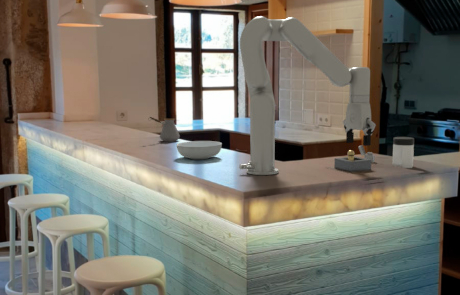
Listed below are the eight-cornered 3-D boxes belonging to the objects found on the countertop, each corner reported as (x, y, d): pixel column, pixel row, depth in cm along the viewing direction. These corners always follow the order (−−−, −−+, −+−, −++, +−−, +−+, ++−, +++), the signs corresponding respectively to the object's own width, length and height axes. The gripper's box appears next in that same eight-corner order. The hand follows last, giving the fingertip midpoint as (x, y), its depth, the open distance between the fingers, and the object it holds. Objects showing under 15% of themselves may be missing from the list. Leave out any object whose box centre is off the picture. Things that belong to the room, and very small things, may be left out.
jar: (393, 164, 233) (394, 136, 232) (413, 165, 230) (414, 137, 229) (391, 167, 225) (392, 138, 224) (412, 169, 222) (413, 139, 221)
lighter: (374, 164, 233) (375, 146, 231) (373, 165, 231) (373, 146, 230) (359, 163, 237) (359, 144, 236) (357, 163, 236) (358, 145, 235)
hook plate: (348, 176, 208) (348, 173, 208) (325, 170, 220) (325, 167, 220) (376, 172, 215) (376, 169, 214) (352, 167, 227) (352, 164, 227)
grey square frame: (351, 172, 210) (351, 161, 209) (334, 168, 218) (334, 158, 218) (371, 169, 214) (371, 159, 214) (353, 166, 223) (354, 156, 223)
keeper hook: (350, 169, 215) (350, 150, 214) (345, 168, 218) (346, 150, 217) (355, 168, 217) (356, 150, 216) (351, 167, 219) (351, 149, 218)
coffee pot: (169, 139, 325) (169, 114, 322) (184, 140, 317) (183, 114, 315) (142, 143, 308) (142, 116, 306) (157, 144, 301) (156, 117, 299)
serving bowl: (201, 153, 269) (201, 139, 268) (231, 158, 254) (231, 143, 253) (167, 158, 255) (167, 143, 254) (197, 163, 240) (197, 147, 239)
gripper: (336, 99, 216) (336, 142, 218) (367, 101, 201) (366, 147, 203) (351, 98, 219) (350, 141, 222) (382, 100, 204) (381, 146, 207)
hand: (358, 144), depth 212 cm, fingers open, 9 cm apart
